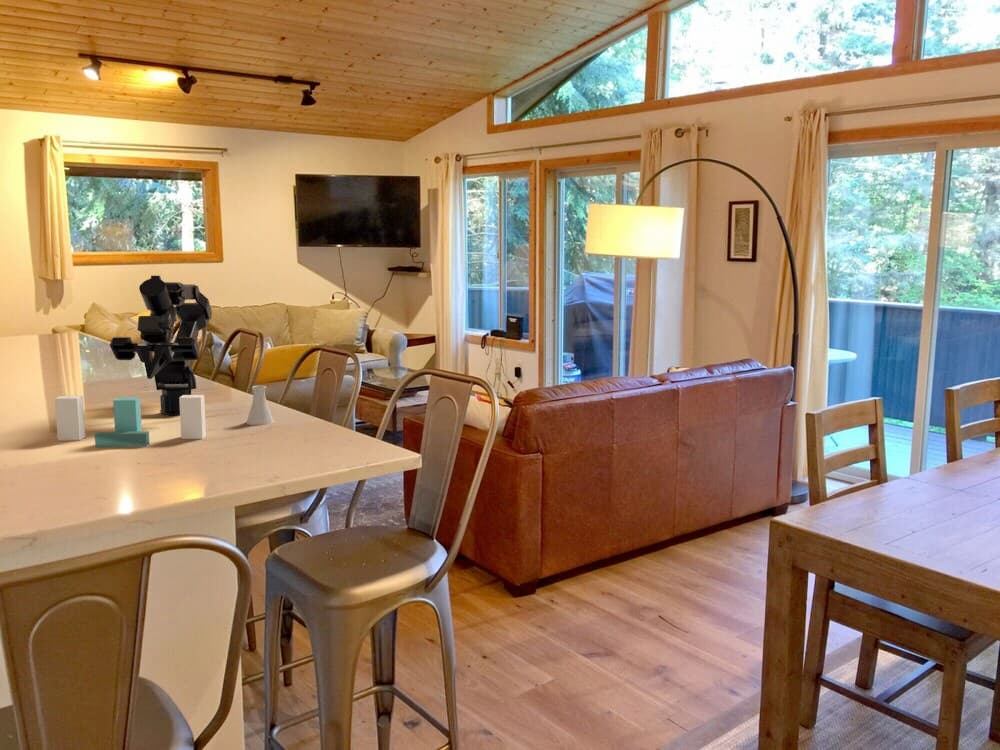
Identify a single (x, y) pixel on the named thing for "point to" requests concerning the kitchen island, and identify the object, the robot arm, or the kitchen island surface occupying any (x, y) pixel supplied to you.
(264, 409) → the flask
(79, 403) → the grey key
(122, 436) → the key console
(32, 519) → the kitchen island surface
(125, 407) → the teal key
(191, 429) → the grey key
